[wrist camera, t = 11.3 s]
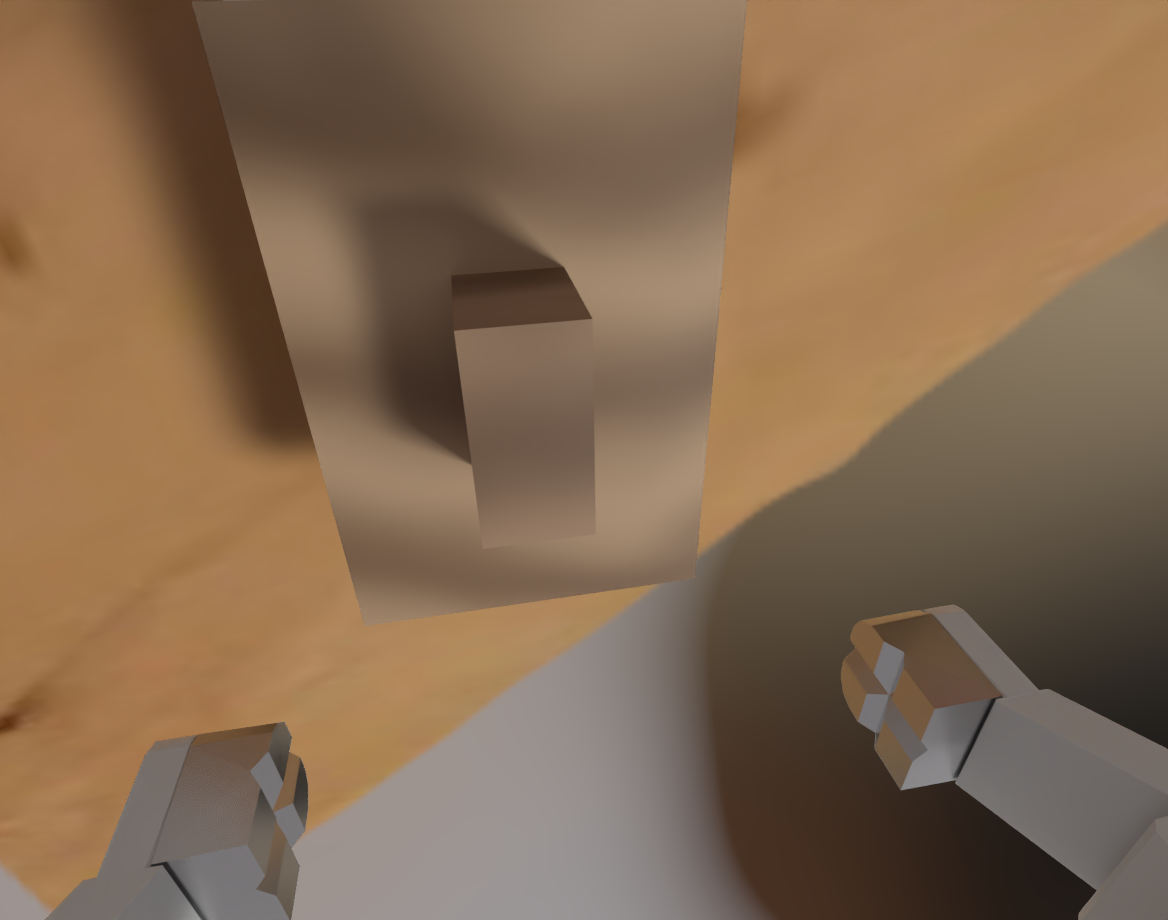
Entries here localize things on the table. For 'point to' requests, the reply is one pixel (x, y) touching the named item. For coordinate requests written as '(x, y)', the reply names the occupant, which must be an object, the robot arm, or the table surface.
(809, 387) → the table surface
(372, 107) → the shelf board
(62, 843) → the table surface
